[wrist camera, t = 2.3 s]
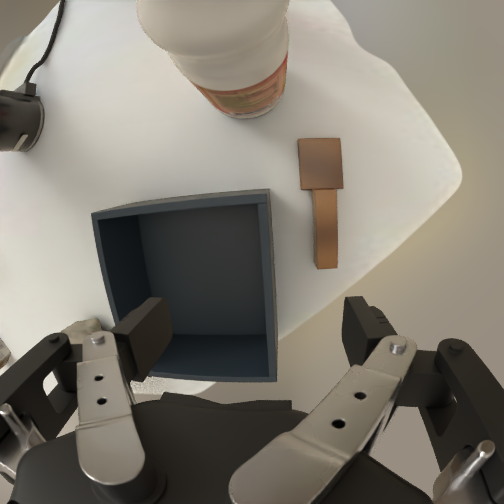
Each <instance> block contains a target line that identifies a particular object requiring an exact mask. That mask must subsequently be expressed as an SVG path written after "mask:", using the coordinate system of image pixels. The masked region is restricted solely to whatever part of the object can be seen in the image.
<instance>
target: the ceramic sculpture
mask: <svg viewBox="0 0 504 504" xmlns="http://www.w3.org/2000/svg"><path fill="white" fill-rule="evenodd" d="M98 331H102V329H101V326H100V322H99V320H98V319H90V320H85V321H77V322H75V323H73V324H72V325H70V326H68V327H67V328H65V329H64V330H62V331H61V332H60V333H65V334H67V335H68V337H69V340H70V343H71V344H83V340H84V338H85V337H86V336H88V335H89V334H92V333H94V332H98ZM148 377H152V376H148Z"/></svg>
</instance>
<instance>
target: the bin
mask: <svg viewBox="0 0 504 504" xmlns="http://www.w3.org/2000/svg"><path fill="white" fill-rule="evenodd" d="M91 217H92V224H93V230H94V236H95V242H96V247H97V253H98V258H99V263H100V267H101V272H102V276H103V281H104V285H105V289H106V293H107V297H108V301H109V305H110V308H111V312H112V315H113V319H114V322H115V326H116V325H117V324H118V323H119V322H120V321H122V319H123V318H124V317H126V316H127V315H128V314H129V313H130V312H131V311H132V310H134V309H136V308H138V307H140V306H141V305H142V304H143V303H144V302H145V301H146V300H147V299H148V298H150V297H158V298H166V299H167V302H168V306H169V312H170V317H171V323H172V328H173V335H172V339H171V341H170V343H169V344H168V346H167V347H166V349H165V350H164V352H163V353H162V354H161V356H160V357H159V359H158V360H157V362H156V363H155V365H154V366H153V368H152V369H151V371H150V372H149V374H148V375H147V376H154V377H163V378H173V379H184V380H197V381H215V382H277V349H278V347H277V345H278V330H277V307H276V287H275V268H274V250H273V234H272V218H271V203H270V189H257V190H243V191H231V192H219V193H209V194H199V195H189V196H180V197H172V198H164V199H156V200H148V201H141V202H134V203H130V204H126V205H122V206H117V207H113V208H109V209H105V210H101V211H97V212H94V213H91Z"/></svg>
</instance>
